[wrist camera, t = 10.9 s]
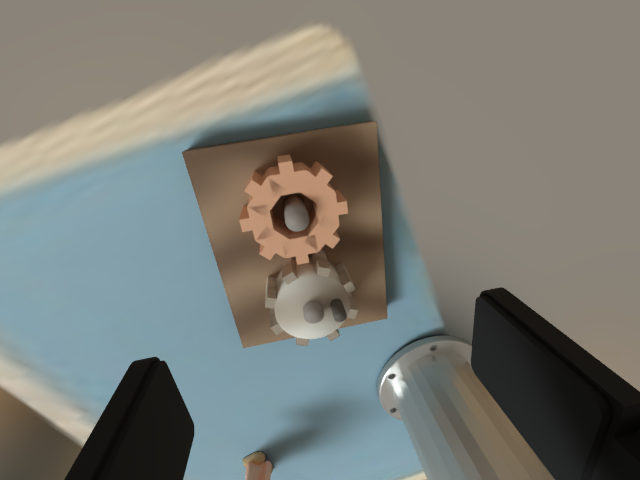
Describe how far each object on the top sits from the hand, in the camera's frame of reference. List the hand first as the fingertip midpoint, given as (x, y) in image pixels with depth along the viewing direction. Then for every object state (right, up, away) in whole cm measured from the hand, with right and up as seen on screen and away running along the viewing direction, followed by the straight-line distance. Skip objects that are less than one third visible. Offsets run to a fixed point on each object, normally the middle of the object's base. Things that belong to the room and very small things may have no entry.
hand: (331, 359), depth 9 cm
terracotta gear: (-2, +6, +15) cm, 16 cm away
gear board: (-2, +3, +18) cm, 18 cm away
